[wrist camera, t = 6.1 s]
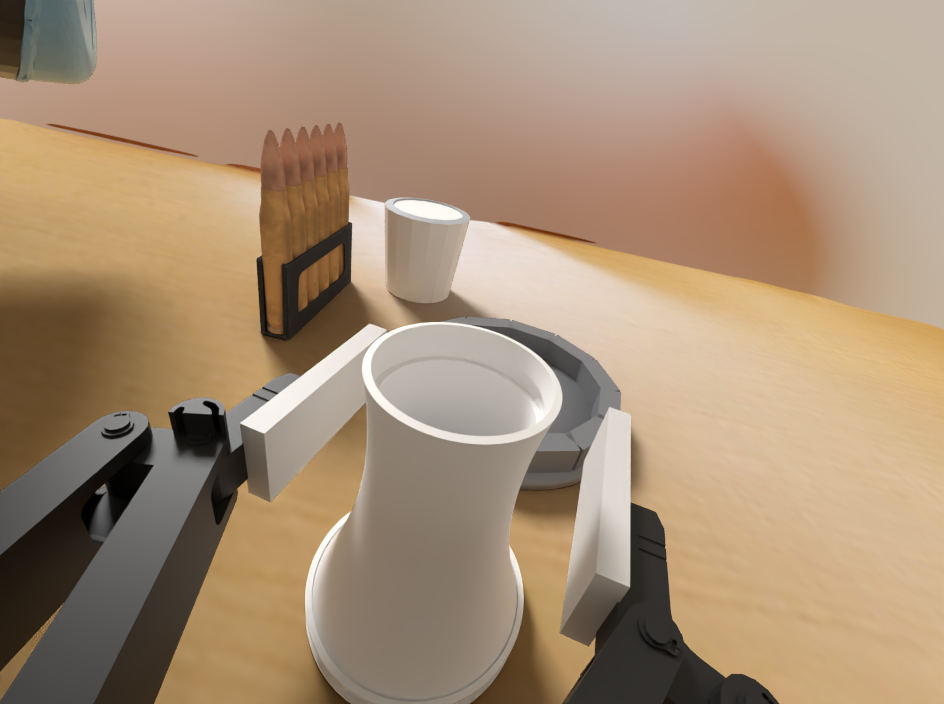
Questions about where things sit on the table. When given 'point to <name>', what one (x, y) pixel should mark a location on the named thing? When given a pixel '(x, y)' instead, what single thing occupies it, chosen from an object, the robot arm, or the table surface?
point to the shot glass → (422, 248)
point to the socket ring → (580, 409)
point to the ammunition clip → (302, 227)
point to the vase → (431, 519)
